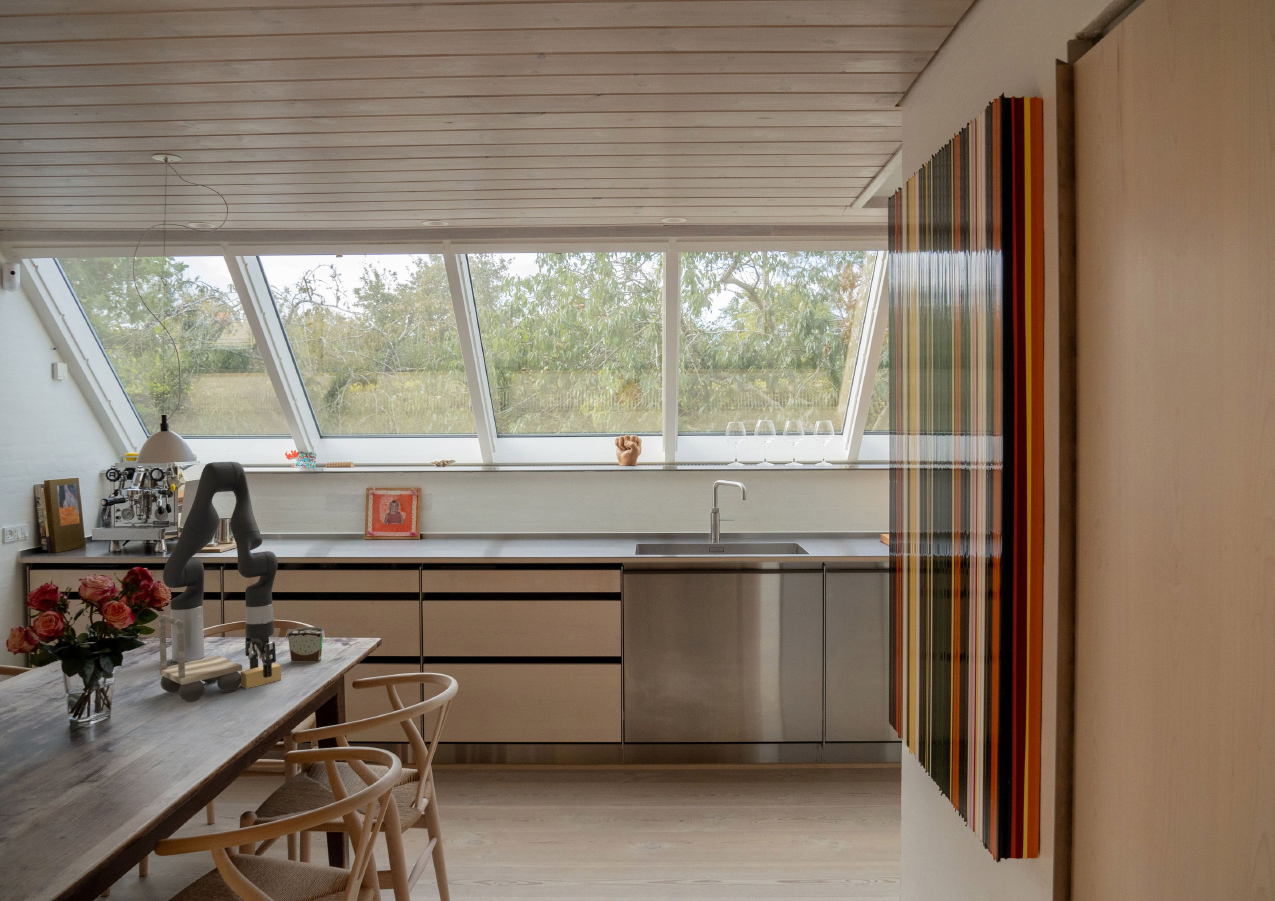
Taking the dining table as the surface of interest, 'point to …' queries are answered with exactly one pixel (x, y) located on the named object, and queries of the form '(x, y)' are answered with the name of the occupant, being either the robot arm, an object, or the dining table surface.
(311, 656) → the food container
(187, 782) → the dining table surface
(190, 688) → the trolley
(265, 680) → the block
